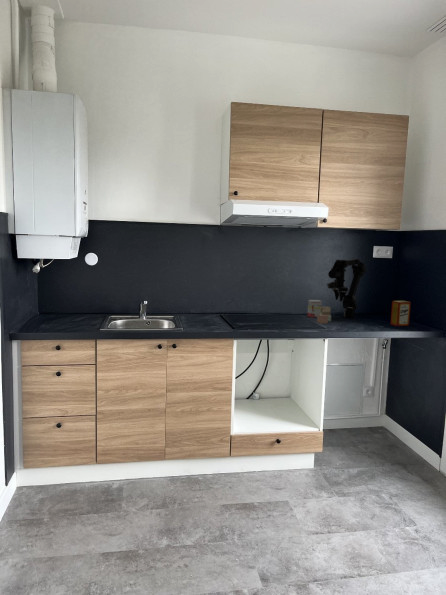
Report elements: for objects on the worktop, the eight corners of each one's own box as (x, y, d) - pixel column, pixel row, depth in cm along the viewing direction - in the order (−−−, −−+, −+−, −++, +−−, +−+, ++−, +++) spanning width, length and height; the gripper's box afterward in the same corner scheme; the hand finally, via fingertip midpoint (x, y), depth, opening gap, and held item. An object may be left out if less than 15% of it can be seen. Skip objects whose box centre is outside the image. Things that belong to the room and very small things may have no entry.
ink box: (310, 317, 317) (310, 300, 316) (307, 316, 322) (308, 299, 320) (321, 317, 319) (322, 300, 318) (318, 316, 324) (319, 299, 322)
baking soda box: (397, 326, 292) (399, 301, 290) (390, 324, 298) (392, 300, 297) (409, 325, 296) (410, 301, 294) (401, 323, 302) (403, 300, 300)
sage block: (329, 319, 311) (329, 314, 311) (330, 321, 304) (331, 315, 304) (318, 319, 312) (319, 313, 311) (320, 321, 305) (320, 315, 304)
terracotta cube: (323, 322, 300) (323, 314, 299) (327, 323, 295) (328, 315, 295) (316, 322, 298) (317, 314, 298) (320, 323, 293) (321, 315, 293)
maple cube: (330, 315, 305) (330, 307, 305) (323, 315, 305) (323, 307, 304) (327, 314, 310) (328, 306, 310) (320, 313, 310) (321, 306, 309)
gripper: (324, 276, 318) (323, 298, 320) (332, 278, 299) (331, 302, 301) (340, 277, 319) (338, 299, 320) (349, 279, 300) (347, 302, 302)
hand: (338, 300), depth 311 cm, fingers open, 9 cm apart
